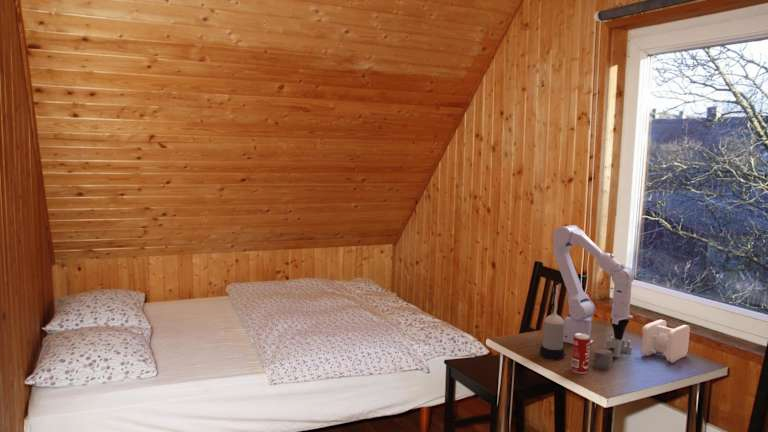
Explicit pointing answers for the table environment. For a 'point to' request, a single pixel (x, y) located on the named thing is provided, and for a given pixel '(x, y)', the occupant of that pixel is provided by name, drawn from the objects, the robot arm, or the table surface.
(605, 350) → the dark grey rod
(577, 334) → the soda can
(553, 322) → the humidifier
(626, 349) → the cable comb
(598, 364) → the block
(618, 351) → the grey slotted cube
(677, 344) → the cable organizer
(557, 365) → the table surface
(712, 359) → the table surface
